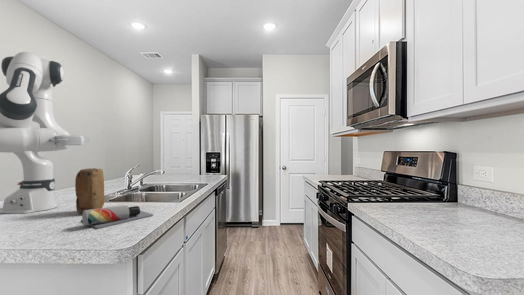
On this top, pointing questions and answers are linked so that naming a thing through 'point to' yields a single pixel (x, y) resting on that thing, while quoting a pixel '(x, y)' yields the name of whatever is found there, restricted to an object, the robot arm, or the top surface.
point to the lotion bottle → (108, 214)
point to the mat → (130, 218)
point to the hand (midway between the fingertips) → (87, 139)
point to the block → (89, 189)
